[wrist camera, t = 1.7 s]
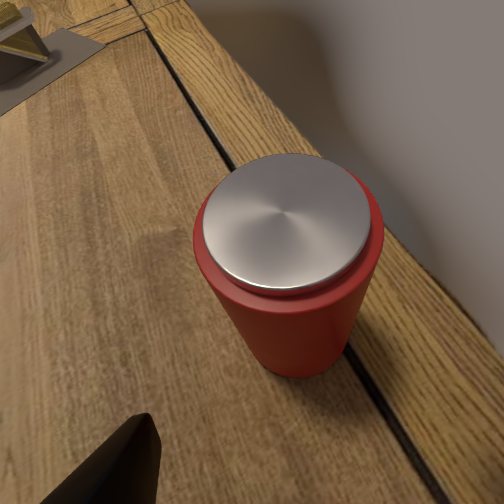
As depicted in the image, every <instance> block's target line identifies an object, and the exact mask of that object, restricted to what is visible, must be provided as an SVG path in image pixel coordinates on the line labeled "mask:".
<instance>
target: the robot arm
mask: <svg viewBox="0 0 504 504" xmlns="http://www.w3.org/2000/svg"><path fill="white" fill-rule="evenodd" d="M161 450H162V446H161V440H160V437H159V434H158V432H157V429H156V427H155V424H154V421H153V419H152V417H151V415H150V414H149V413H142V414H138V415H134V416H131V417H130V418H129V419H128V420H127V421H126V422H125V423H124V424H123V425H121V426H120V427H119V428H118V429H117V430H116V431H115V432H114V433H113V434H112V435H111V436H110V437H109V438H108V439H107V440H106V441H105V442H104V443H103V444H102V445H100V446H99V447H98V448H97V449H96V450H95V451H94V452H93V453H92V454H91V455H90V456H89V457H88V458H87V459H86V460H85V461H84V462H83V463H82V464H81V465H80V466H78V467H77V468H76V469H75V470H74V471H73V472H72V473H71V474H70V475H69V476H68V477H67V478H66V479H65V480H64V481H63V482H62V483H61V484H60V485H59V486H57V487H56V488H55V489H54V490H53V491H52V492H51V493H50V494H49V495H48V496H47V497H46V498H45V499H44V500H43V501H42V502H41V503H40V504H155V503H156V494H157V486H158V477H159V468H160V459H161Z"/></svg>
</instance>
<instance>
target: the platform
mask: <svg viewBox="0 0 504 504" xmlns="http://www.w3.org/2000/svg"><path fill="white" fill-rule="evenodd" d="M6 2H7V3H9V4H8V5H7V3H6ZM3 3H4V5H5V3H6V5H7V6H6V5H5V6H6V7H5V6H4V5H3ZM3 3H1V4H0V5H1V6H2V5H3V6H4V7H5V8H3V9H2V7H3V6H2V7H1V6H0V7H1V9H0V15H1V14H2V15H1V16H0V18H1V17H2V18H3V17H4V18H3V19H2V18H1V19H0V116H1V115H2V114H4V113H5V112H7V111H8V110H10V109H11V108H13V107H14V106H16V105H17V104H19V103H21V102H22V101H24V100H25V99H27V98H28V97H30V96H31V95H33V94H34V93H36V92H37V91H39V90H40V89H42V88H43V87H45V86H46V85H48V84H49V83H51V82H52V81H54V80H55V79H57V78H58V77H60V76H61V75H63V74H64V73H66V72H67V71H69V70H70V69H72V68H73V67H75V66H77V65H78V64H80V63H81V62H83V61H84V60H86V59H87V58H89V57H90V56H92V55H93V54H95V53H96V52H98V51H99V50H101V49H102V48H104V47H105V46H106V45H104V44H101V43H99V42H96V41H94V40H91V39H89V38H86V37H84V36H81V35H79V34H76V33H74V32H71V31H69V30H66V29H64V28H60V29H58V30H57V31H55V32H53V33H52V34H50V35H48V36H47V37H45V38H43V39H42V40H41V38H40V37H39V35H38V34H37V32H36V31H35V29H34V28H33V26H32V25H31V24H32V23H33V22H34V21H35V17H34V13H33V11H32V10H31V8H29V7H23V8H21V9H20V10H18V9H17V7H16V6H15V4H14V3H13V2H10V1H8V0H7V1H5V2H3ZM9 6H10V7H9ZM7 9H8V10H9V9H10V10H11V9H12V10H11V11H10V10H9V11H8V10H7ZM2 10H3V11H4V10H5V11H4V12H3V11H2ZM6 10H7V11H6ZM1 11H2V12H1ZM11 12H12V13H11ZM13 12H14V13H13ZM4 13H5V14H6V13H7V14H8V13H9V14H8V15H7V14H6V15H5V14H4ZM10 13H11V14H10ZM3 14H4V15H3Z"/></svg>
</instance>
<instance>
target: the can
mask: <svg viewBox="0 0 504 504" xmlns="http://www.w3.org/2000/svg"><path fill="white" fill-rule="evenodd" d="M383 241H384V223H383V217H382V214H381V211H380V208H379V205H378V203H377V201H376V200H375V198H374V196H373V195H372V193H371V192H370V190H369V189H368V188H367V187H366V186H365V184H364V183H363V182H361V180H359V179H358V178H357V177H356V176H354V175H353V174H352V173H350V172H349V171H347V170H345V169H344V168H342V167H340V166H338V165H336V164H335V163H332V162H330V161H328V160H326V159H323V158H320V157H316V156H312V155H306V154H295V153H287V154H276V155H270V156H266V157H262V158H259V159H256V160H253V161H251V162H249V163H247V164H244V165H242V166H241V167H239V168H237V169H236V170H234V171H233V172H232V173H230V174H229V175H228V176H226V177H225V178H224V179H223V180H222V181H221V182H220V183H219V184H218V185H217V186H216V187H215V188H214V189H213V190H212V192H211V193H210V194H209V195H208V196H207V198H206V199H205V201H204V202H203V204H202V206H201V208H200V210H199V212H198V215H197V218H196V221H195V225H194V231H193V248H194V254H195V258H196V261H197V264H198V266H199V268H200V271H201V272H202V274H203V276H204V277H205V279H206V280H207V282H208V284H209V285H210V287H211V288H212V290H213V291H214V293H215V295H216V296H217V298H218V299H219V301H220V303H221V304H222V306H223V307H224V309H225V310H226V312H227V314H228V315H229V317H230V318H231V320H232V321H233V323H234V325H235V326H236V328H237V329H238V331H239V333H240V334H241V336H242V337H243V339H244V340H245V342H246V344H247V345H248V347H249V348H250V350H251V352H252V353H253V355H254V356H255V358H256V359H257V360H258V361H259V362H260V363H261V364H262V365H263V366H264V367H266V368H267V369H269V370H270V371H272V372H274V373H276V374H278V375H281V376H284V377H290V378H306V377H311V376H314V375H317V374H319V373H321V372H323V371H325V370H327V369H328V368H329V367H331V366H332V365H333V364H334V363H335V362H336V361H337V360H338V358H339V357H340V355H341V354H342V352H343V350H344V348H345V345H346V343H347V340H348V338H349V335H350V332H351V330H352V327H353V325H354V322H355V319H356V317H357V314H358V312H359V309H360V306H361V304H362V301H363V299H364V296H365V293H366V291H367V288H368V286H369V283H370V280H371V278H372V275H373V273H374V270H375V267H376V265H377V262H378V260H379V257H380V254H381V251H382V247H383Z"/></svg>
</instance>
